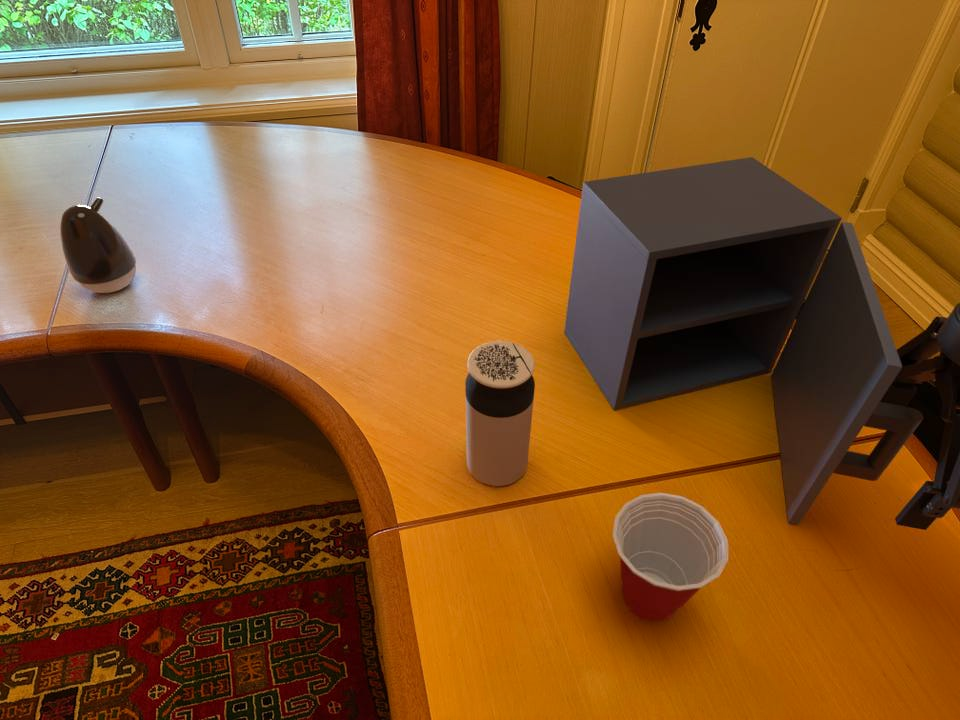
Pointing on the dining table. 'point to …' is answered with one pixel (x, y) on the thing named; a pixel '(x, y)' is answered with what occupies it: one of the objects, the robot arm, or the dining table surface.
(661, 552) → the plastic cup
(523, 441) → the travel mug
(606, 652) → the dining table surface
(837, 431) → the cupboard door
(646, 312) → the cupboard
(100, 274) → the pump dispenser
